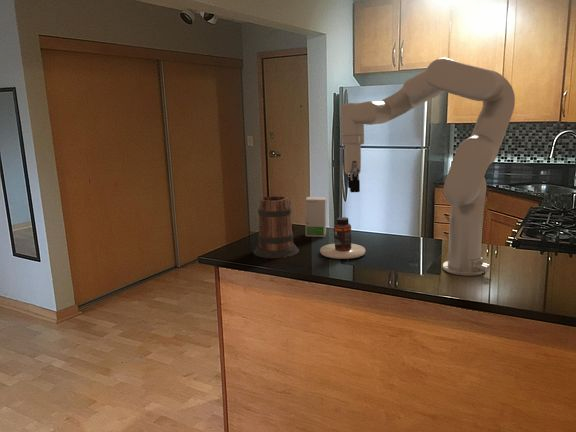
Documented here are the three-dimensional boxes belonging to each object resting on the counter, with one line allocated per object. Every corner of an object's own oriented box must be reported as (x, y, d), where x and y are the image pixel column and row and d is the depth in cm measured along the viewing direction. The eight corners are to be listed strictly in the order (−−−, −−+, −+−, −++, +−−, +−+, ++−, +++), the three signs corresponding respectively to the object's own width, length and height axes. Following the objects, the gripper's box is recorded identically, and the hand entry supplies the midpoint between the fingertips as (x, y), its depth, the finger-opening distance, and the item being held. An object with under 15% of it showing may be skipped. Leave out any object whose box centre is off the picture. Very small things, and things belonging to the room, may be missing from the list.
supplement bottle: (354, 248, 169) (354, 217, 166) (347, 252, 164) (347, 220, 162) (339, 246, 172) (338, 215, 170) (331, 250, 167) (331, 219, 165)
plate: (374, 254, 166) (374, 250, 165) (338, 263, 158) (338, 258, 157) (346, 244, 179) (346, 240, 179) (311, 252, 171) (311, 247, 171)
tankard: (288, 260, 163) (286, 203, 159) (245, 255, 170) (242, 201, 165) (311, 242, 184) (310, 191, 180) (272, 238, 191) (270, 190, 186)
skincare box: (305, 236, 192) (304, 199, 189) (307, 232, 198) (306, 196, 195) (325, 237, 191) (325, 199, 187) (327, 233, 197) (326, 196, 194)
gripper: (340, 139, 169) (341, 186, 172) (343, 142, 152) (344, 194, 156) (361, 138, 168) (362, 185, 172) (366, 141, 152) (367, 193, 155)
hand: (353, 189), depth 164 cm, fingers open, 9 cm apart
